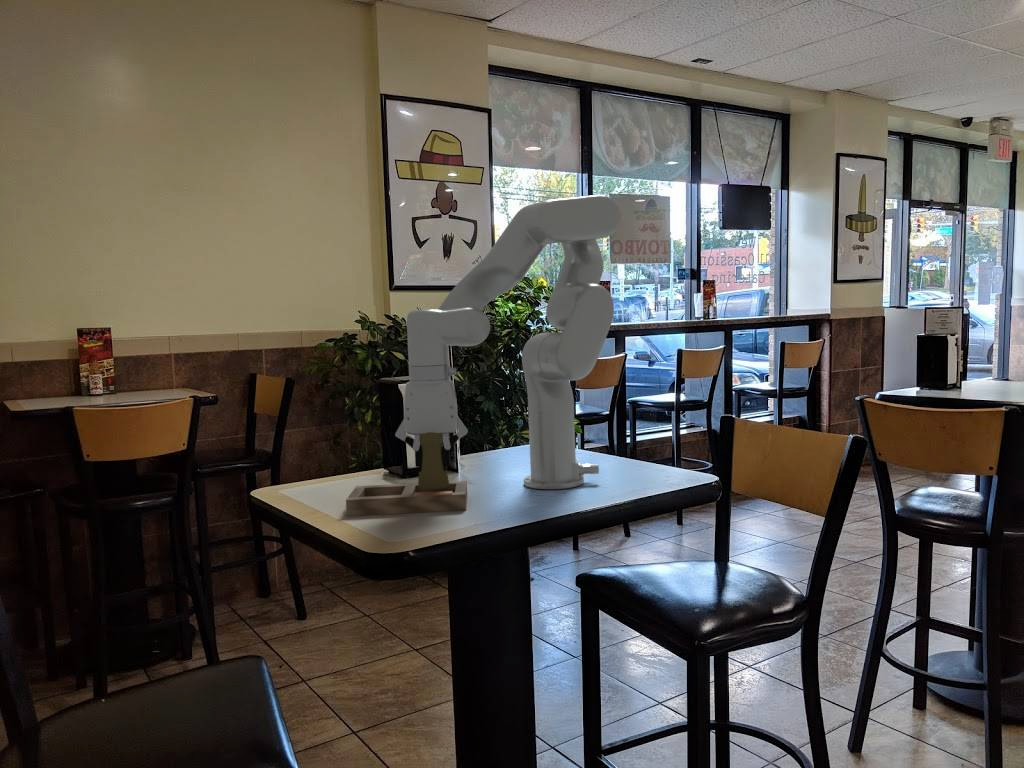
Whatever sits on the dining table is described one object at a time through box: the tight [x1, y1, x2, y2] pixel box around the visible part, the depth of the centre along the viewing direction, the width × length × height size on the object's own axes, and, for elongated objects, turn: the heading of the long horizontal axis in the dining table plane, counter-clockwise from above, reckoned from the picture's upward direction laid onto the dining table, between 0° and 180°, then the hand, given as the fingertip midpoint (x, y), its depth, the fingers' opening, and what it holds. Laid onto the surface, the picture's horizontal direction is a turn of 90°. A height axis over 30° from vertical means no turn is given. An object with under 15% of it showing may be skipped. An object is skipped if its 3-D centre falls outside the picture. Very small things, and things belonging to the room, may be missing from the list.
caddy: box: [345, 480, 468, 517], centre depth 153 cm, size 22×12×3 cm, turn 92°
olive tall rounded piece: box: [417, 432, 450, 489], centre depth 152 cm, size 6×6×11 cm
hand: (433, 469), depth 153 cm, fingers closed on olive tall rounded piece, 3 cm apart
